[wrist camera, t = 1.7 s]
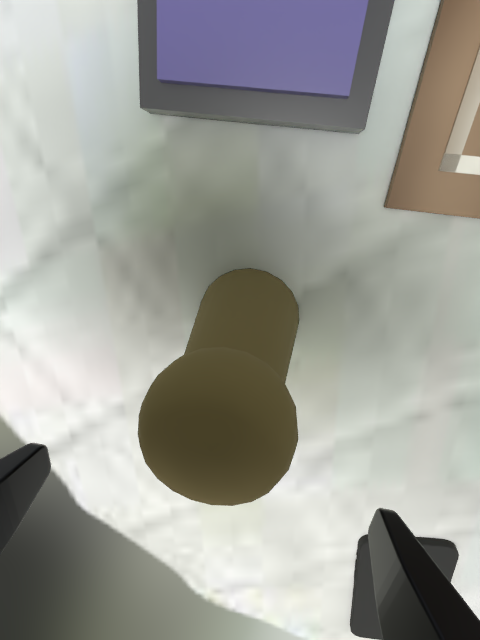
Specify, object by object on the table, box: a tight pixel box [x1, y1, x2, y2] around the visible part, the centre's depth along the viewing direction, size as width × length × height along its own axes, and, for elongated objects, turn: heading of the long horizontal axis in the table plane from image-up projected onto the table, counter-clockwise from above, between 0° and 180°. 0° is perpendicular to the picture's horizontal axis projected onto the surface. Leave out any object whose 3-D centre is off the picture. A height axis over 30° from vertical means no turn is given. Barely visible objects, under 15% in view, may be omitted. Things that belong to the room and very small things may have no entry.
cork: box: [138, 268, 299, 506], centre depth 14 cm, size 6×6×11 cm
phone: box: [350, 534, 459, 640], centre depth 27 cm, size 7×1×15 cm
